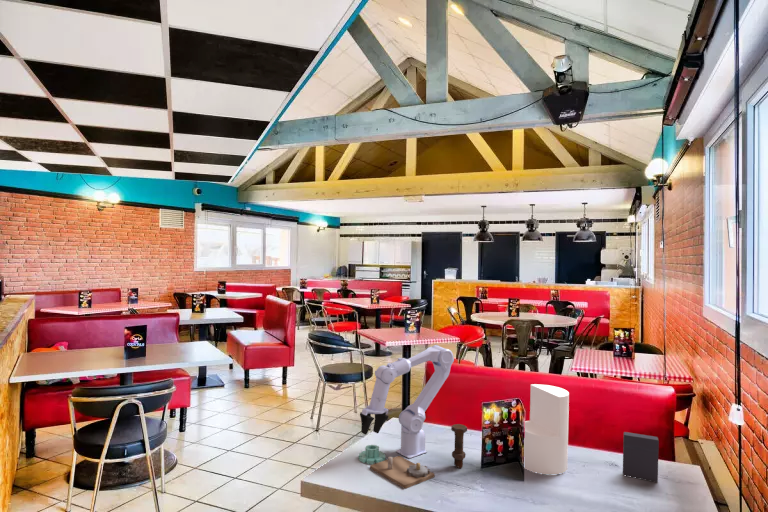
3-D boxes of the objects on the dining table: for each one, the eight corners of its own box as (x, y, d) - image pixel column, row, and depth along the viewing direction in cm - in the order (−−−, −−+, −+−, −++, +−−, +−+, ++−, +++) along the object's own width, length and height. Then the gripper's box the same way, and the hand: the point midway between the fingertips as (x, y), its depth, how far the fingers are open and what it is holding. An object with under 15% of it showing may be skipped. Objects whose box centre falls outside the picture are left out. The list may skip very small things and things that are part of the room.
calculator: (656, 478, 173) (657, 436, 173) (657, 483, 169) (658, 440, 169) (622, 471, 178) (623, 430, 177) (622, 476, 174) (623, 434, 174)
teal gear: (374, 450, 192) (374, 440, 192) (390, 459, 184) (390, 448, 184) (353, 457, 186) (353, 446, 186) (369, 466, 178) (369, 455, 178)
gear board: (399, 458, 185) (399, 445, 185) (434, 477, 170) (434, 462, 170) (370, 468, 176) (370, 454, 176) (404, 488, 161) (405, 473, 161)
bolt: (465, 464, 181) (466, 424, 181) (466, 470, 176) (467, 429, 176) (450, 463, 182) (451, 423, 182) (450, 469, 177) (451, 428, 177)
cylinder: (547, 453, 193) (549, 383, 193) (577, 471, 177) (579, 395, 176) (510, 458, 188) (511, 386, 187) (537, 478, 171) (539, 399, 171)
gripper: (381, 394, 193) (373, 428, 192) (359, 394, 182) (350, 430, 180) (395, 400, 189) (387, 434, 187) (374, 400, 177) (364, 437, 176)
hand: (369, 433), depth 183 cm, fingers open, 7 cm apart
